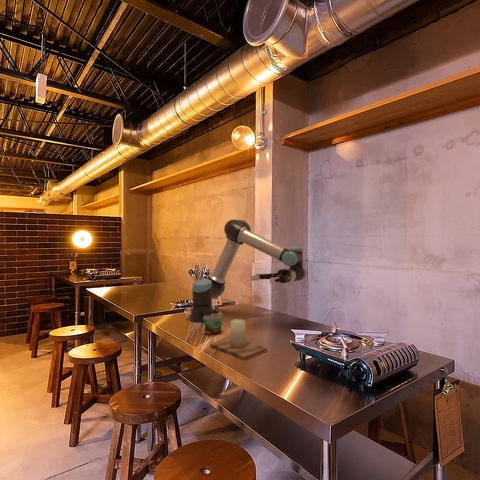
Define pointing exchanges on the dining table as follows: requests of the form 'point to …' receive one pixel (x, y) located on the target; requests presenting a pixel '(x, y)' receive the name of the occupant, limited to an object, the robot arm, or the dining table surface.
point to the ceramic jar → (237, 333)
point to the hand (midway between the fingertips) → (260, 279)
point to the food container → (213, 323)
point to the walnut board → (239, 349)
